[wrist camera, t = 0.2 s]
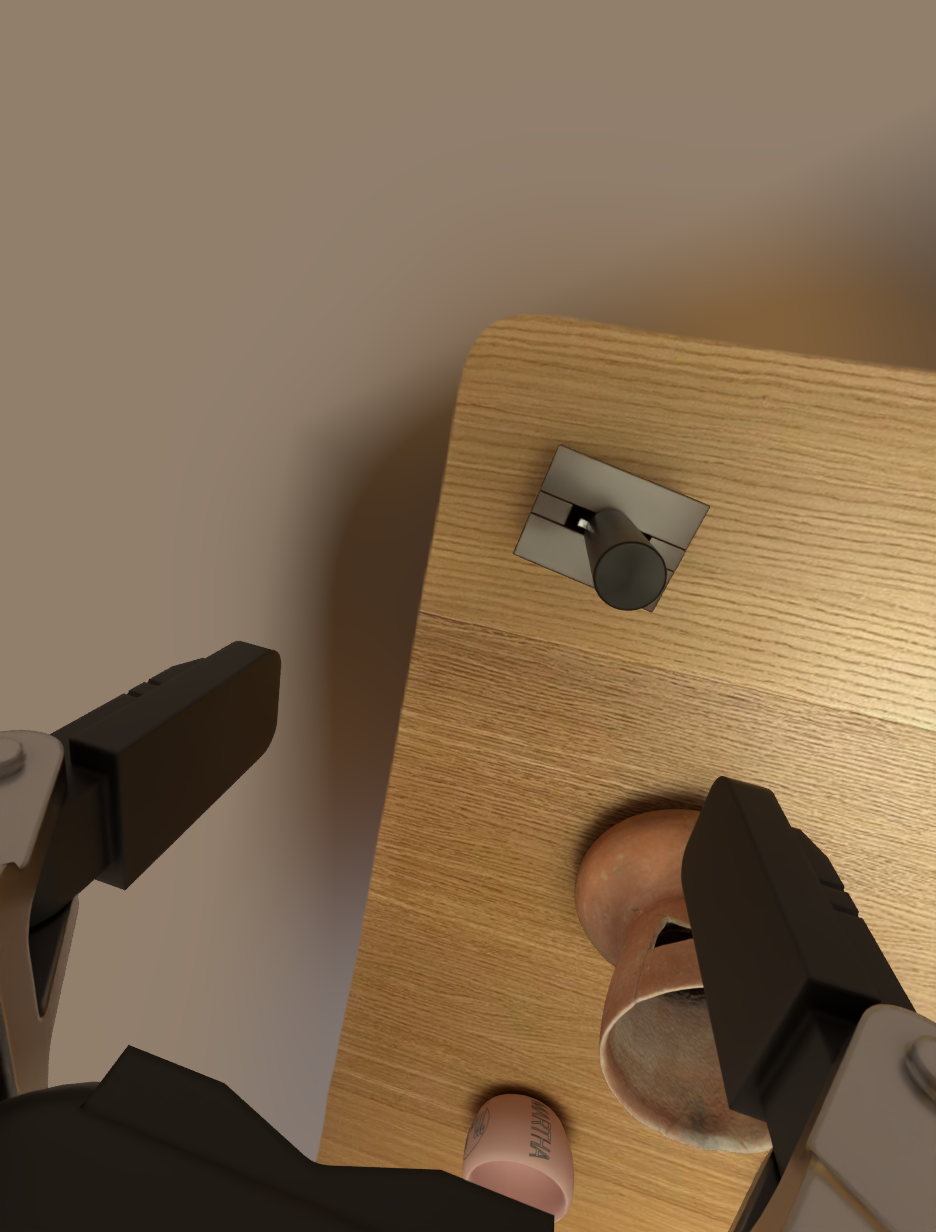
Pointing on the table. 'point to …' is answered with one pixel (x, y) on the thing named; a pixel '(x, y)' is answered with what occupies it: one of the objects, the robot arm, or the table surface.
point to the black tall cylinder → (621, 560)
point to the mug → (521, 1153)
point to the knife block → (598, 489)
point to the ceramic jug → (657, 986)
